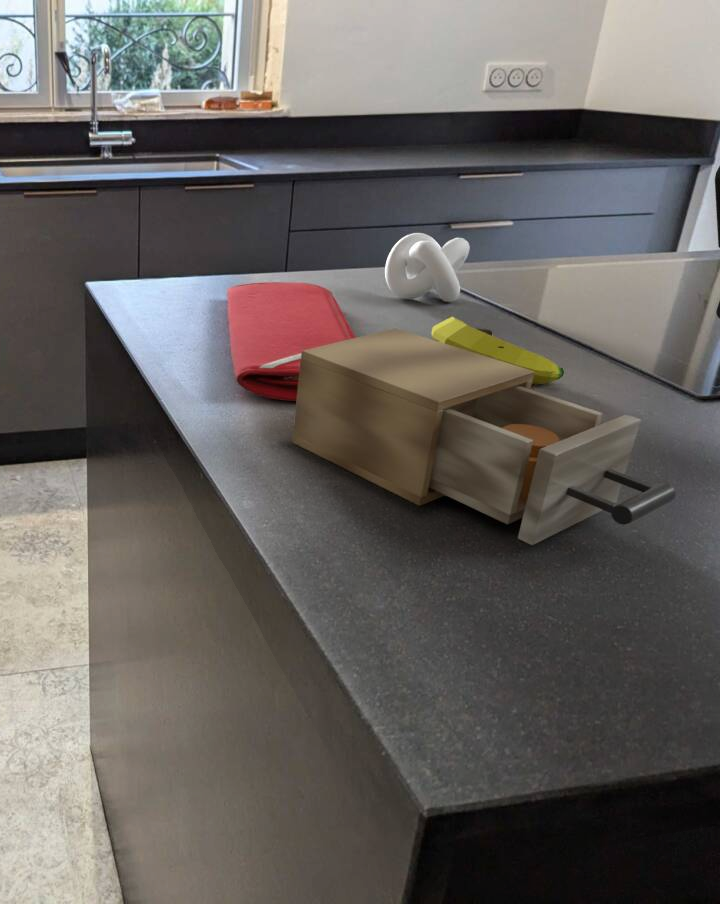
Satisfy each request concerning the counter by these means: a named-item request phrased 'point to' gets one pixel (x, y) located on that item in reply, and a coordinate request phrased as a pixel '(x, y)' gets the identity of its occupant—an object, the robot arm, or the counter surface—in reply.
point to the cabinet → (390, 404)
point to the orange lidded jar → (532, 449)
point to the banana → (495, 349)
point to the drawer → (539, 463)
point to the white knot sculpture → (425, 266)
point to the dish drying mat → (279, 333)
